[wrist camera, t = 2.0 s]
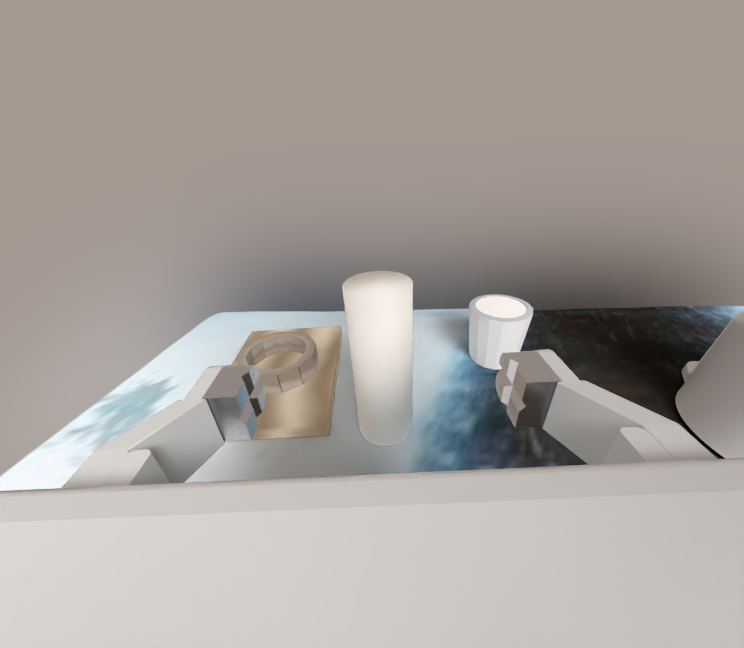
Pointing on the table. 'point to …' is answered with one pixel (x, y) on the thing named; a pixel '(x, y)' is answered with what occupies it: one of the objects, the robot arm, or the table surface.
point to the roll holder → (294, 379)
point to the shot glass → (497, 327)
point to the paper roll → (381, 353)
